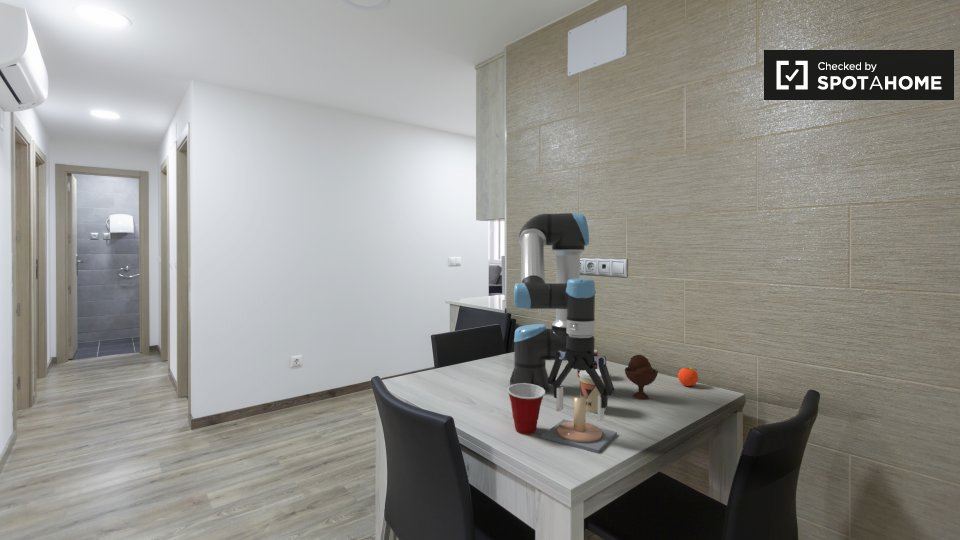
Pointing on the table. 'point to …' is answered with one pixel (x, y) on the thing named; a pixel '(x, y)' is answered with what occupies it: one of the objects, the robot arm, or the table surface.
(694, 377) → the clementine
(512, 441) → the table surface
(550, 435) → the mat
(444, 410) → the table surface
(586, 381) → the coffee cup
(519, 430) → the plastic cup
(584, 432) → the lid
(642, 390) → the ice cream bowl
